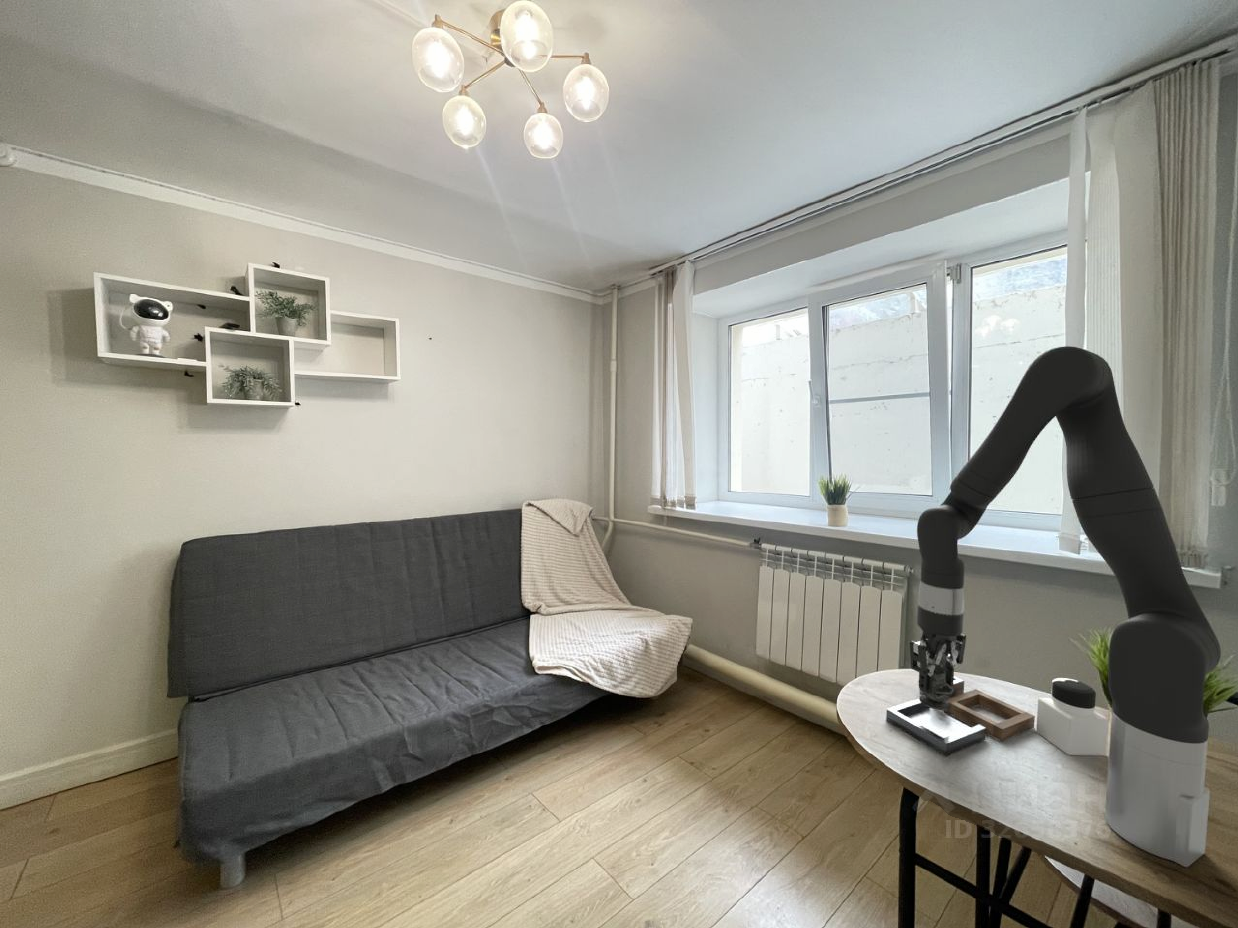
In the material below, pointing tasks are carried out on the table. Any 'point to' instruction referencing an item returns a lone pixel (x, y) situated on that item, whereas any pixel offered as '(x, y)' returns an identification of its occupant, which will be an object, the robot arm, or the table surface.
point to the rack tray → (934, 727)
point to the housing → (956, 687)
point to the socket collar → (1002, 731)
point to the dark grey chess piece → (938, 688)
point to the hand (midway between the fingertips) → (936, 687)
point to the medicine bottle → (1072, 719)
